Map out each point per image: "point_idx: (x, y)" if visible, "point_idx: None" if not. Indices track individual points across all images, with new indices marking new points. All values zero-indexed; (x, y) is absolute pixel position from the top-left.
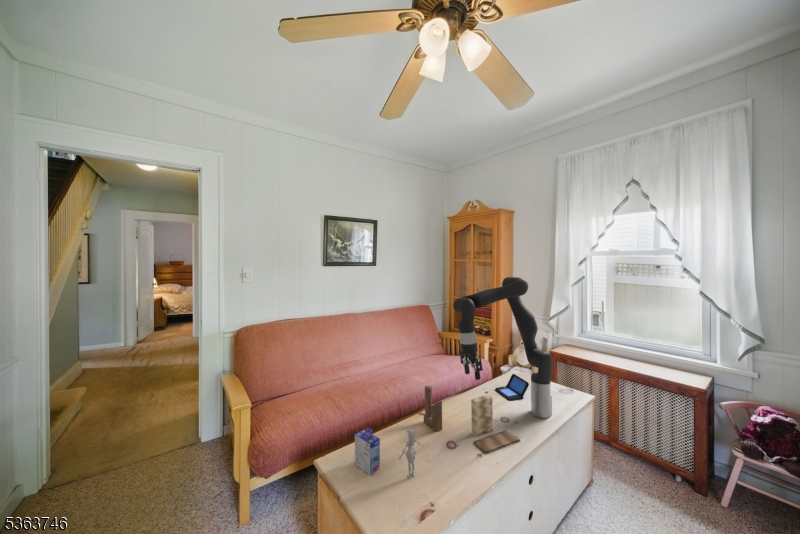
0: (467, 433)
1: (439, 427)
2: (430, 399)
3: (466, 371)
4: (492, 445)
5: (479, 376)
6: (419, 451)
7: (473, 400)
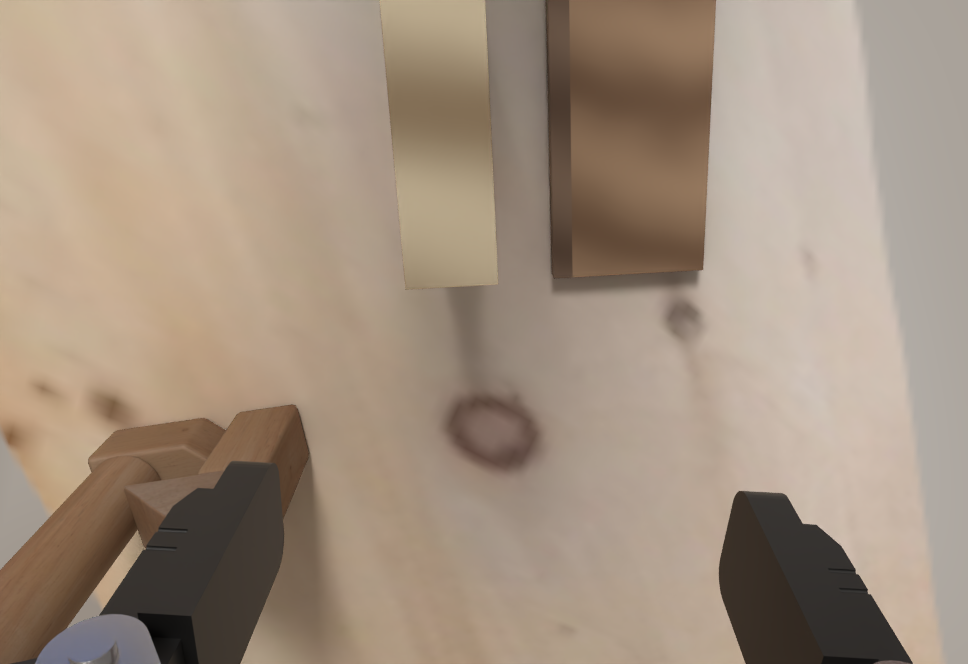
0: None
1: (297, 443)
2: (83, 582)
3: (261, 587)
4: (669, 175)
5: (849, 590)
6: (469, 636)
7: (448, 281)
